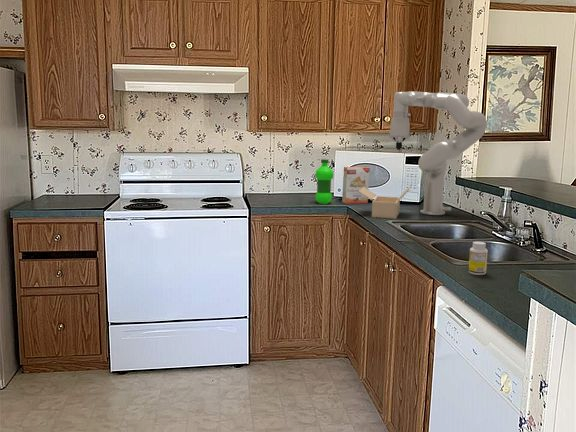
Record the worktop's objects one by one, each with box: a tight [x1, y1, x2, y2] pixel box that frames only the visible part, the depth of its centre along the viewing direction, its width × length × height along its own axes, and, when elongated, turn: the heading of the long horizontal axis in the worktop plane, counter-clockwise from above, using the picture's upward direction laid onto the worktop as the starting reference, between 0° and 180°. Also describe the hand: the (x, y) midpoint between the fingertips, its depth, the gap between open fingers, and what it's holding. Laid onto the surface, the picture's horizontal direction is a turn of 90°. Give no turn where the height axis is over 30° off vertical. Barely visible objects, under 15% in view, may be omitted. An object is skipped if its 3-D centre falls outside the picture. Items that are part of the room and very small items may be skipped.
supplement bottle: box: [468, 241, 489, 276], centre depth 191 cm, size 6×6×10 cm
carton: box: [371, 195, 401, 220], centre depth 300 cm, size 12×21×8 cm, turn 165°
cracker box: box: [341, 166, 371, 205], centre depth 336 cm, size 14×6×21 cm, turn 105°
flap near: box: [398, 185, 412, 201], centre depth 296 cm, size 8×18×1 cm
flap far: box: [358, 187, 377, 201], centre depth 301 cm, size 8×18×1 cm
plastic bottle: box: [314, 158, 334, 205], centre depth 333 cm, size 10×10×25 cm
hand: (398, 149), depth 317 cm, fingers closed
